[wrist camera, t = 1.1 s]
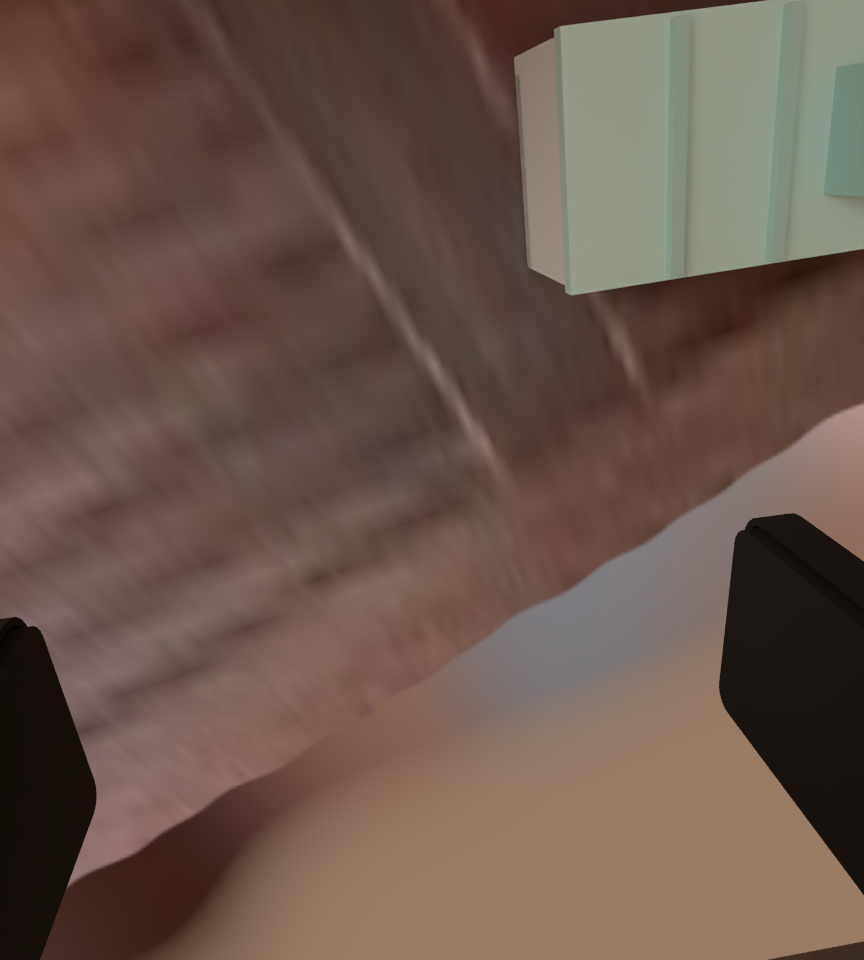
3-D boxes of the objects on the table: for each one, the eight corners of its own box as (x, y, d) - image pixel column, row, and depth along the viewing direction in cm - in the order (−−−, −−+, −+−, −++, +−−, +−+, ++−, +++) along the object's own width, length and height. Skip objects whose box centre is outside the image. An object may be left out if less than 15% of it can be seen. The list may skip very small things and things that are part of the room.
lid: (546, 33, 29) (621, -7, 22) (880, -9, 31) (1050, -59, 24) (558, 289, 34) (624, 322, 27) (850, 242, 35) (986, 263, 28)
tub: (513, 57, 35) (559, 34, 28) (782, 23, 36) (882, -6, 30) (527, 266, 39) (569, 287, 33) (766, 229, 40) (851, 242, 34)
